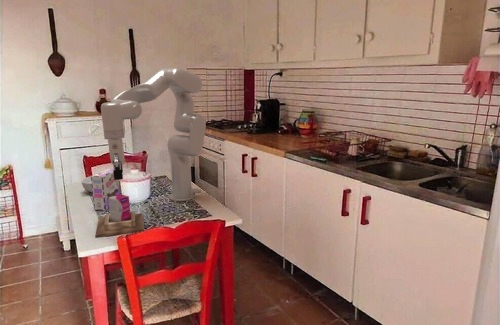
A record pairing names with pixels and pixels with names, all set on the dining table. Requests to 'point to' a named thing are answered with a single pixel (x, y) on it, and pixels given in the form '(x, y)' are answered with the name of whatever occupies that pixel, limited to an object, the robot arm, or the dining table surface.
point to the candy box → (104, 189)
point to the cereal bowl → (87, 184)
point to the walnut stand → (119, 225)
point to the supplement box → (119, 208)
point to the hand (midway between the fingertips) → (118, 176)
